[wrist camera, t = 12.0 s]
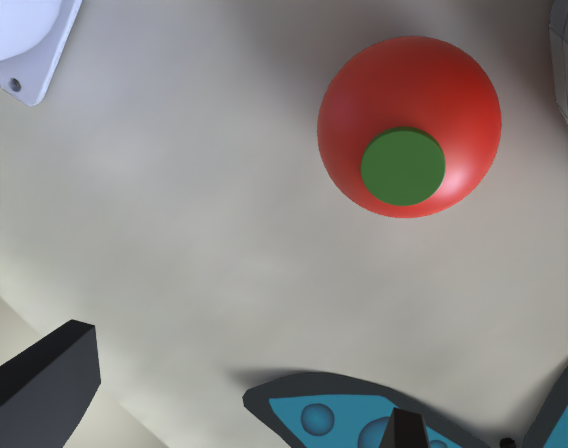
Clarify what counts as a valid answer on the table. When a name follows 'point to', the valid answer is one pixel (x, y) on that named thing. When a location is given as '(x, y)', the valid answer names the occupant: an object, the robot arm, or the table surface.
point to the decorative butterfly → (377, 414)
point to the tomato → (409, 127)
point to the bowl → (560, 53)
